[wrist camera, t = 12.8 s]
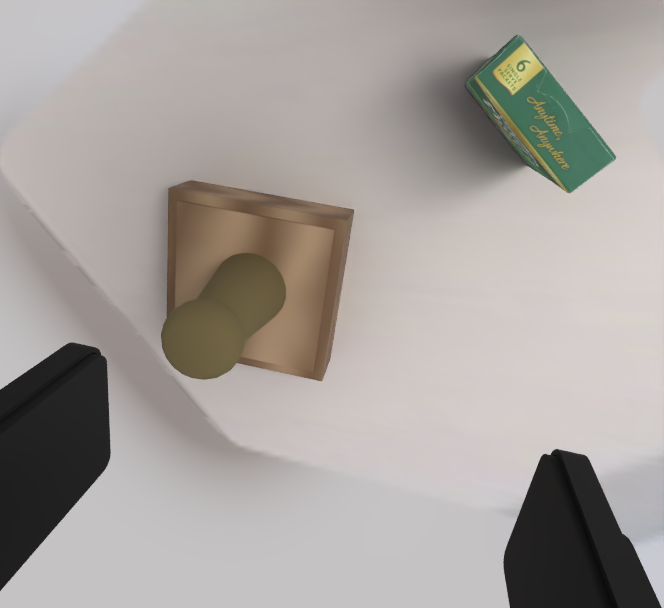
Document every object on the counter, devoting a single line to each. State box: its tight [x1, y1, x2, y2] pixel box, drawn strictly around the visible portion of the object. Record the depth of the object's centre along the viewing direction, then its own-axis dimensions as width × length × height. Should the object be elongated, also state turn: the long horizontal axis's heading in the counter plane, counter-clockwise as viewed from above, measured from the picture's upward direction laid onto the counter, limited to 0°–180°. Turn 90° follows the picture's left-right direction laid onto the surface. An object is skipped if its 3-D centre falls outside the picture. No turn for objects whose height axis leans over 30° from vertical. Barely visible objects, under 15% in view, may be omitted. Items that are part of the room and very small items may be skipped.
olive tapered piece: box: [161, 253, 286, 379], centre depth 36 cm, size 6×6×11 cm
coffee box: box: [465, 35, 616, 193], centre depth 31 cm, size 8×3×13 cm, turn 43°
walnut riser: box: [167, 181, 354, 381], centre depth 43 cm, size 14×14×4 cm
